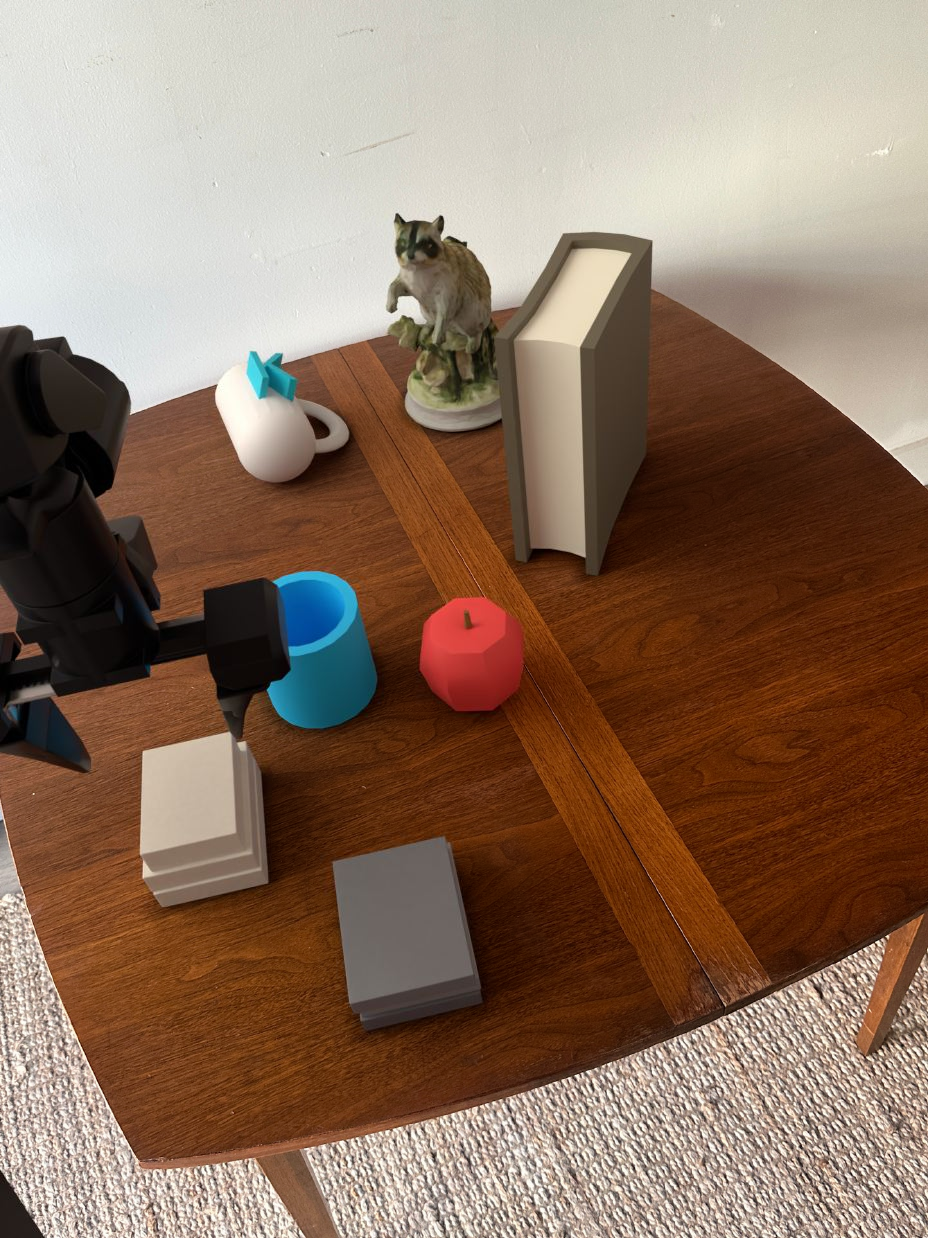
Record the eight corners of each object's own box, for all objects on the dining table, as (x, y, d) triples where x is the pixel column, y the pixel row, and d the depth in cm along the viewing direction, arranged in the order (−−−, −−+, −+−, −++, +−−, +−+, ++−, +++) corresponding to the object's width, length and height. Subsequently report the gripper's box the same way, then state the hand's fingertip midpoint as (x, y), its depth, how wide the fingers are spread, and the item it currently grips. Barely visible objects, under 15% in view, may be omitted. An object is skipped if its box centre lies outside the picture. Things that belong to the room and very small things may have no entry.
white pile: (268, 883, 66) (254, 855, 64) (160, 908, 66) (141, 881, 63) (260, 769, 73) (247, 740, 70) (162, 791, 72) (145, 762, 70)
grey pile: (485, 1006, 59) (477, 973, 56) (364, 1035, 59) (349, 1004, 56) (455, 865, 66) (447, 829, 62) (345, 891, 65) (331, 855, 62)
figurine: (385, 433, 98) (345, 236, 83) (430, 355, 106) (401, 163, 92) (500, 446, 95) (479, 243, 80) (537, 364, 103) (524, 167, 89)
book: (573, 442, 94) (565, 223, 79) (647, 453, 92) (654, 230, 76) (515, 560, 84) (493, 337, 69) (597, 575, 82) (594, 348, 67)
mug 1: (254, 405, 86) (222, 339, 94) (239, 495, 91) (210, 425, 99) (383, 412, 91) (342, 348, 99) (362, 496, 97) (325, 429, 105)
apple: (452, 633, 79) (439, 559, 74) (547, 660, 77) (542, 586, 71) (405, 709, 75) (388, 637, 69) (504, 741, 72) (494, 669, 66)
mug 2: (390, 650, 79) (372, 576, 73) (358, 735, 74) (336, 663, 68) (248, 634, 82) (220, 561, 76) (208, 714, 77) (174, 643, 71)
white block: (246, 851, 64) (236, 832, 62) (151, 872, 64) (139, 855, 62) (240, 750, 69) (231, 730, 68) (153, 769, 69) (142, 750, 68)
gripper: (241, 431, 56) (304, 622, 68) (-100, 502, 55) (23, 683, 67) (251, 568, 49) (320, 756, 60) (-143, 652, 48) (3, 827, 59)
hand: (163, 749), depth 62 cm, fingers open, 9 cm apart
